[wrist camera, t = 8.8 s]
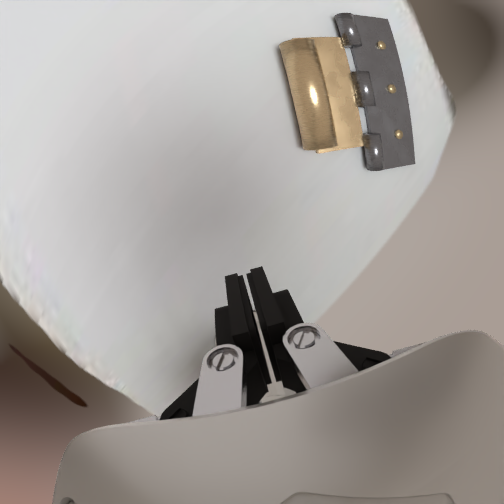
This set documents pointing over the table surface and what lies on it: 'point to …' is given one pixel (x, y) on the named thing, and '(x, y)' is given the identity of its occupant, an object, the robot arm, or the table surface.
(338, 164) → the table surface
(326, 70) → the bronze hinge leaf
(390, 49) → the steel hinge leaf
